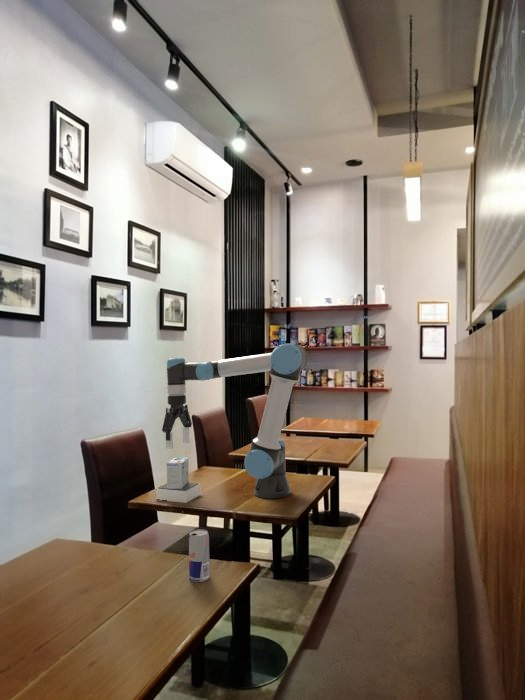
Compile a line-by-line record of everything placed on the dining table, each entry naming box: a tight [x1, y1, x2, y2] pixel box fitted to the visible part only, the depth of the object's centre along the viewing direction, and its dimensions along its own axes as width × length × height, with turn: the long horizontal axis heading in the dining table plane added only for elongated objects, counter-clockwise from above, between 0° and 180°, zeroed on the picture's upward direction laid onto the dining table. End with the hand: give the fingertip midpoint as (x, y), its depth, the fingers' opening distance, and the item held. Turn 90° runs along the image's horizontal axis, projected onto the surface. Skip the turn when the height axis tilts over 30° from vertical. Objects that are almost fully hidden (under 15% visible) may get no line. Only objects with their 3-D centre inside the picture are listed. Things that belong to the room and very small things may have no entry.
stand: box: [155, 482, 201, 503], centre depth 210 cm, size 14×12×5 cm
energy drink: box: [188, 528, 211, 583], centre depth 132 cm, size 5×5×12 cm
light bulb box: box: [166, 457, 190, 489], centre depth 210 cm, size 11×7×11 cm, turn 173°
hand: (178, 445), depth 210 cm, fingers open, 13 cm apart
